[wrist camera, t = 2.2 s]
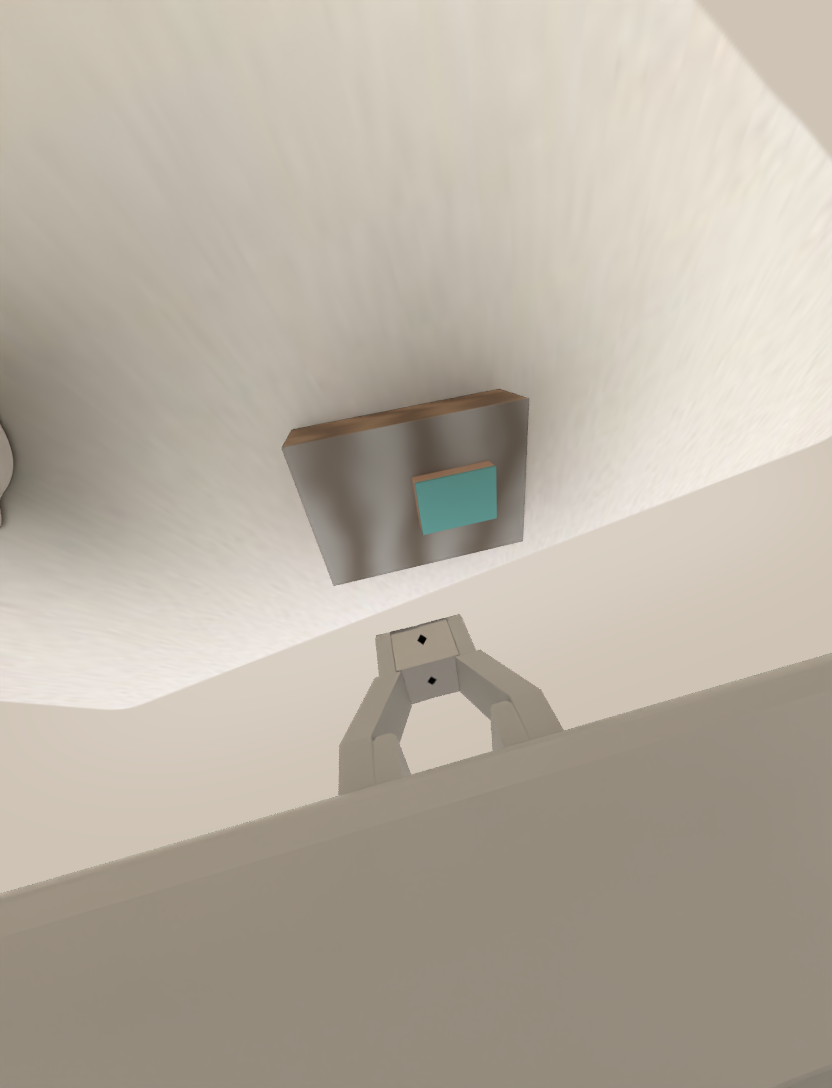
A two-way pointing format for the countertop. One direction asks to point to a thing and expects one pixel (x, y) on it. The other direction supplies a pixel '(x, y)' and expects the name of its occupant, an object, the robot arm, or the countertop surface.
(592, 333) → the countertop surface
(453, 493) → the tile
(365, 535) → the board
